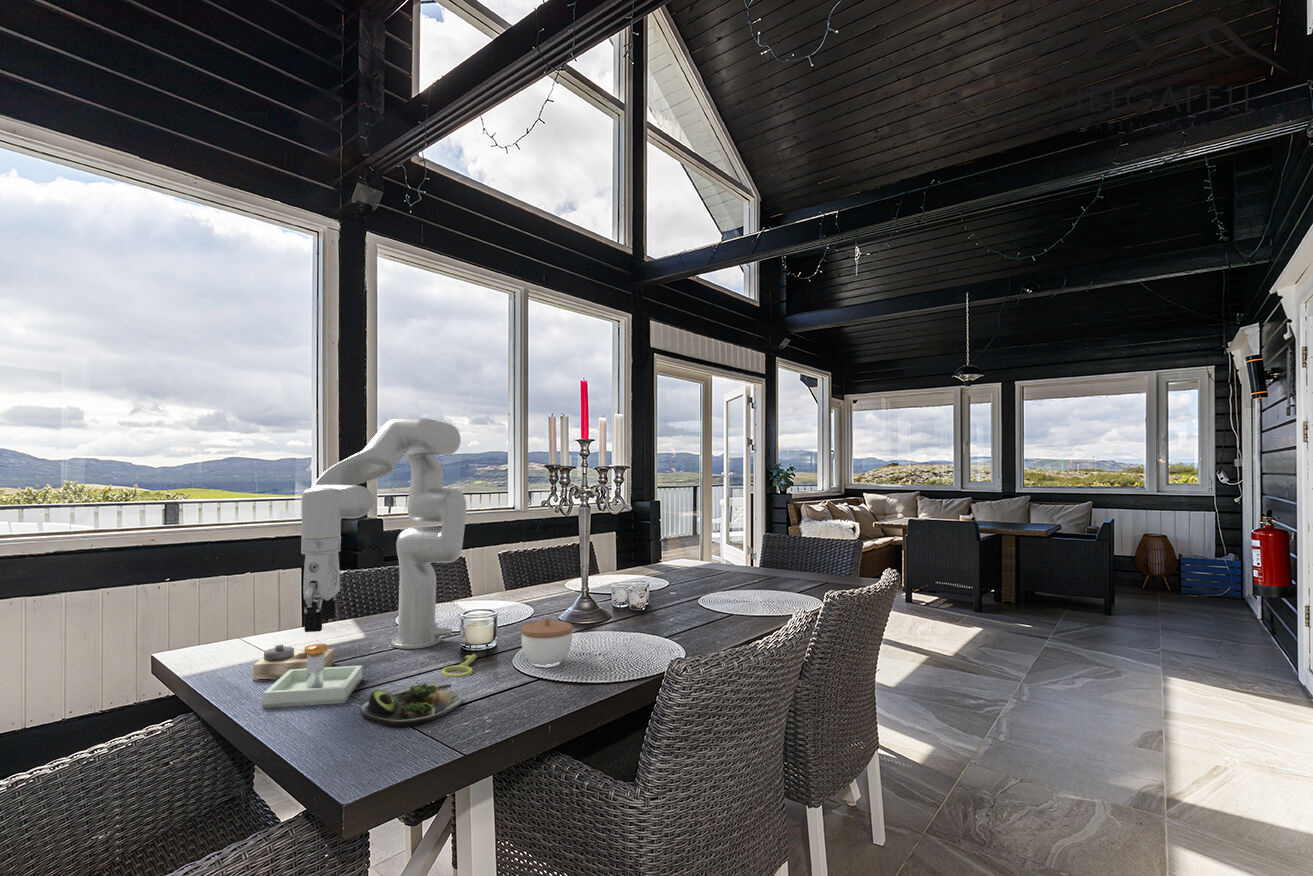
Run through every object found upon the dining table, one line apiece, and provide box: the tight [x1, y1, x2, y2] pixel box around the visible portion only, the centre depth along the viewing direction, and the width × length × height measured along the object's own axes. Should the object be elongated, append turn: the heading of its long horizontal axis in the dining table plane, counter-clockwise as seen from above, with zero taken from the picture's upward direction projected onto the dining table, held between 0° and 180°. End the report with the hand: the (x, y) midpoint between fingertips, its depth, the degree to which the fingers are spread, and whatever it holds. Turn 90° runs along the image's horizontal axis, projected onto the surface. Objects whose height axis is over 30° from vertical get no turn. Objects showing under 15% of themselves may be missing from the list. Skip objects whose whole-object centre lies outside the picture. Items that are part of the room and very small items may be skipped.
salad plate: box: [357, 682, 463, 728], centre depth 127 cm, size 19×18×5 cm
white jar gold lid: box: [304, 643, 328, 689], centre depth 134 cm, size 4×4×9 cm
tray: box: [262, 665, 363, 709], centre depth 134 cm, size 15×15×3 cm
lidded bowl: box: [520, 617, 573, 665], centre depth 155 cm, size 13×13×11 cm
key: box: [441, 653, 478, 678], centre depth 151 cm, size 7×12×2 cm, turn 10°
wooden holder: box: [252, 644, 335, 681], centre depth 148 cm, size 14×10×6 cm
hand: (320, 624), depth 135 cm, fingers open, 9 cm apart
